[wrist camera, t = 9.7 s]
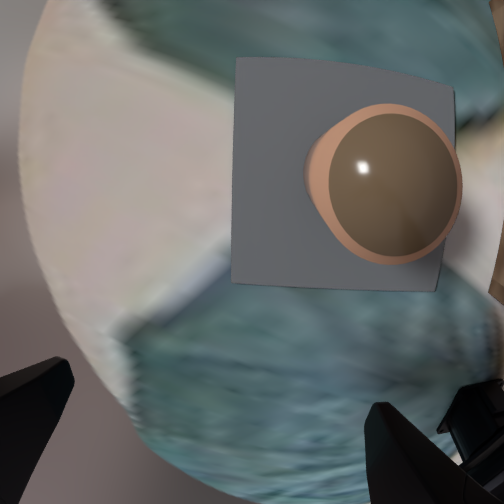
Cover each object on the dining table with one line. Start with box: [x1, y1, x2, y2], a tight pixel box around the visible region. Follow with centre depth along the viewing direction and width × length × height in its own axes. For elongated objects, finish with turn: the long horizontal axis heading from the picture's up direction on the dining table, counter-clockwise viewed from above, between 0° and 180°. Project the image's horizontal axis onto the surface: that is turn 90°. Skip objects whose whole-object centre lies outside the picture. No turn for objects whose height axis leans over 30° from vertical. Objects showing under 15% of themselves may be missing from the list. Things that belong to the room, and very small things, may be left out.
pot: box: [303, 104, 462, 265], centre depth 13 cm, size 6×6×7 cm
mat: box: [231, 57, 455, 292], centre depth 16 cm, size 14×14×1 cm
